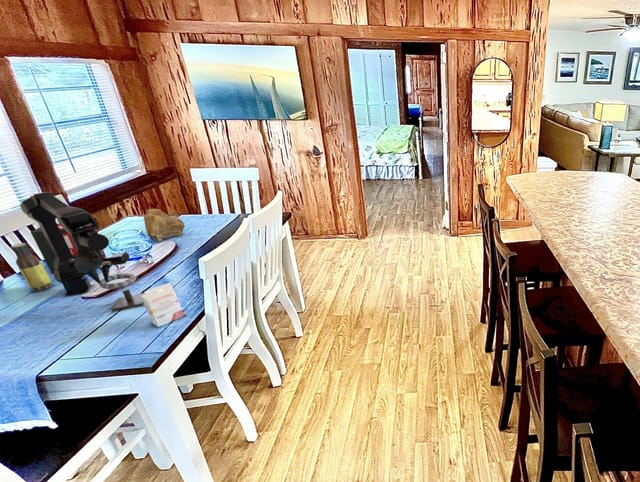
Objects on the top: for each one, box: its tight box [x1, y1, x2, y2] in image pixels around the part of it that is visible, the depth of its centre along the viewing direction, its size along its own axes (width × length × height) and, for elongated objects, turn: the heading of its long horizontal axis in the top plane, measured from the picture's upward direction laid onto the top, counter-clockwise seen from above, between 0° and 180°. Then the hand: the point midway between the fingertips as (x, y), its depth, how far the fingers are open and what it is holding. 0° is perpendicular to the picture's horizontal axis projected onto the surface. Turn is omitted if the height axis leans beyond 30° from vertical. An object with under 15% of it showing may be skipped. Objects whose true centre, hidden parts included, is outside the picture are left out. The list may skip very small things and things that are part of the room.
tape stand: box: [111, 287, 145, 312], centre depth 151 cm, size 9×9×6 cm
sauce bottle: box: [10, 242, 53, 292], centre depth 156 cm, size 6×6×20 cm
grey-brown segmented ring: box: [98, 272, 137, 290], centre depth 147 cm, size 10×10×2 cm
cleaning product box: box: [30, 223, 107, 274], centre depth 174 cm, size 16×9×20 cm, turn 108°
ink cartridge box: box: [141, 282, 185, 328], centre depth 140 cm, size 9×5×15 cm, turn 148°
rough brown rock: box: [143, 208, 186, 242], centre depth 208 cm, size 23×17×15 cm
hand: (103, 282), depth 145 cm, fingers closed on grey-brown segmented ring, 2 cm apart
